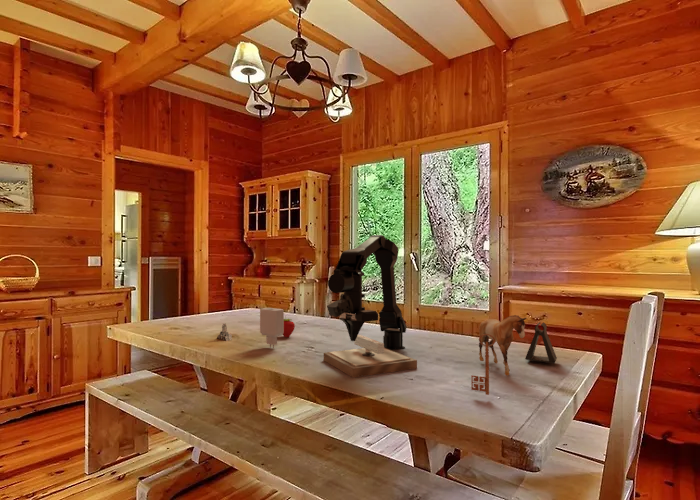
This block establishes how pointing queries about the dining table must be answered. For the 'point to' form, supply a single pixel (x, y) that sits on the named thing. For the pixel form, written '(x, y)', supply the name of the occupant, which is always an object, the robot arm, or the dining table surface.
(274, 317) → the charger
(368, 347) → the T-key
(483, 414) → the dining table surface
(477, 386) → the key
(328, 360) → the brown square tray
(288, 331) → the strawberry
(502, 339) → the horse figurine
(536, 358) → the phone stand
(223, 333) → the grey stone figurine
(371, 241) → the robot arm
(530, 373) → the dining table surface
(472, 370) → the dining table surface
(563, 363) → the dining table surface
